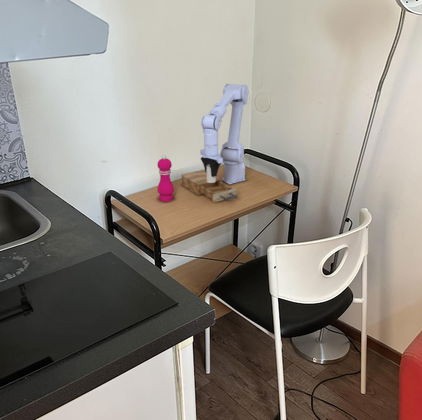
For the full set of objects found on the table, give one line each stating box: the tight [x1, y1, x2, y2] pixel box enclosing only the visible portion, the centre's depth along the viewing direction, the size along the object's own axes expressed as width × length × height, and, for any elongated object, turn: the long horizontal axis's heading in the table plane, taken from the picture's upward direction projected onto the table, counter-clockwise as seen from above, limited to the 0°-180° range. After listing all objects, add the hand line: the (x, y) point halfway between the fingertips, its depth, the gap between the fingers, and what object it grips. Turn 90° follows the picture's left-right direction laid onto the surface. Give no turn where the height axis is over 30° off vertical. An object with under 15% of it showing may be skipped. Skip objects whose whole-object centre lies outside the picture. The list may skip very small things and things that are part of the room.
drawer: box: [200, 181, 238, 203], centre depth 192 cm, size 18×11×3 cm, turn 27°
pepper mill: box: [156, 154, 175, 203], centre depth 190 cm, size 7×7×20 cm
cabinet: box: [181, 168, 223, 196], centre depth 203 cm, size 15×13×5 cm
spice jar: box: [206, 165, 216, 183], centre depth 189 cm, size 4×4×7 cm
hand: (211, 174), depth 189 cm, fingers closed on spice jar, 4 cm apart
